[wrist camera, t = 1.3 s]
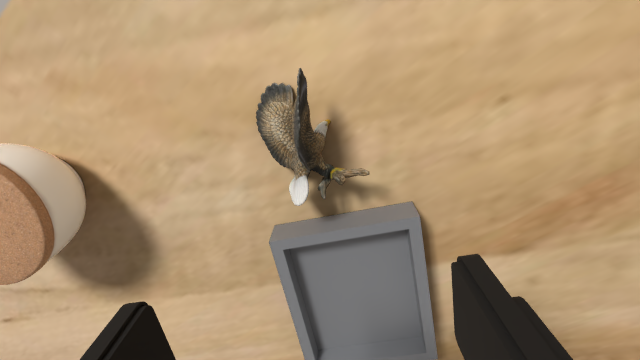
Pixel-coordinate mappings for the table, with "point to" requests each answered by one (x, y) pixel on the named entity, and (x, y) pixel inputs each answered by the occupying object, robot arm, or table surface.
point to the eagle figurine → (297, 138)
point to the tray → (358, 284)
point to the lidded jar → (35, 209)
